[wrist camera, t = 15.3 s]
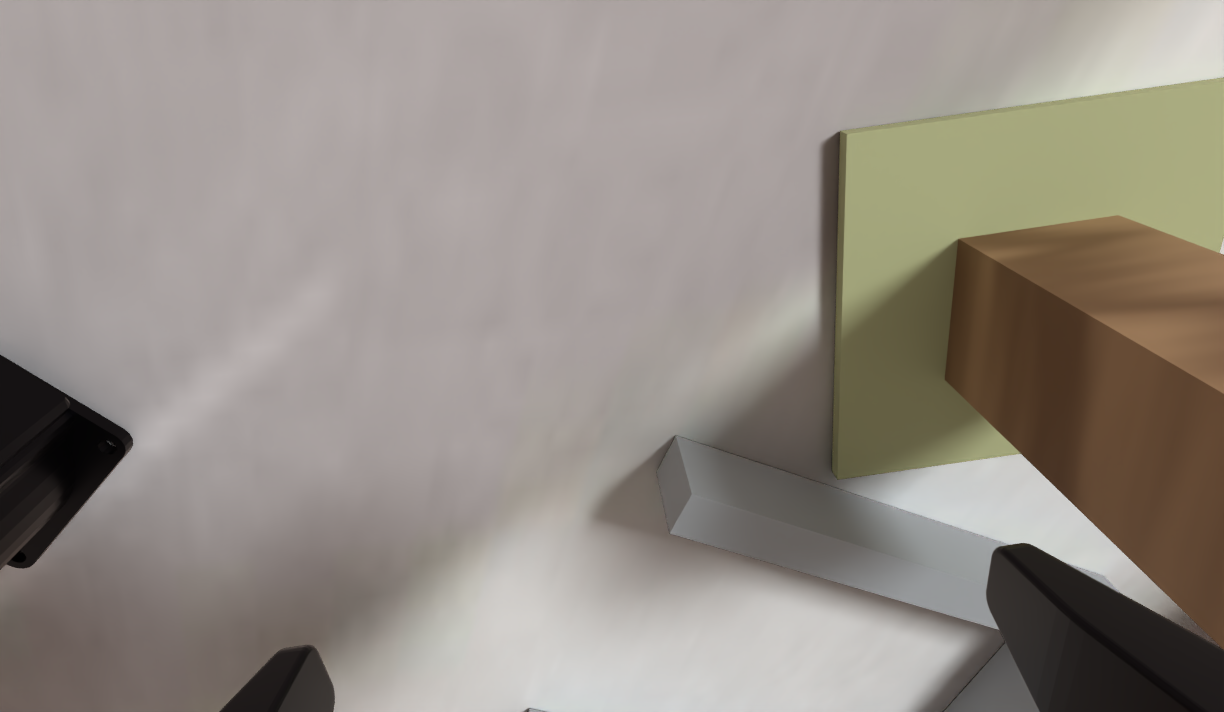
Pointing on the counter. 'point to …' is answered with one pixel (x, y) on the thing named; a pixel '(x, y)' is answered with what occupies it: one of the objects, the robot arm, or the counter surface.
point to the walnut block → (1107, 384)
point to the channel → (842, 547)
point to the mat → (979, 205)
